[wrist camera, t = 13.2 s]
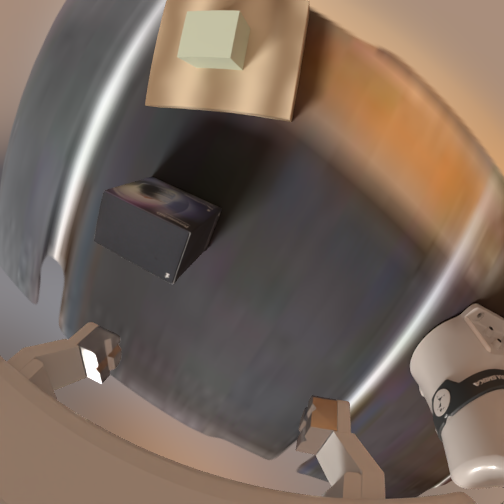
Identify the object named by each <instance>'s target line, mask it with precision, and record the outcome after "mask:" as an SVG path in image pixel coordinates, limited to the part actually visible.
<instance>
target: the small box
mask: <svg viewBox="0 0 504 504" xmlns="http://www.w3.org/2000/svg"><path fill="white" fill-rule="evenodd" d="M221 211H222V209H221V208H220V207H218V206H216V205H214V204H211V203H209V202H207V201H205V200H203V199H201V198H199V197H196V196H194V195H192V194H190V193H188V192H185V191H183V190H181V189H179V188H177V187H175V186H172V185H170V184H168V183H166V182H163V181H161V180H159V179H157V178H154V177H149V178H146V179H142V180H139V181H135V182H132V183H128V184H125V185H122V186H118V187H115V188H112V189H108V190H105V191H104V193H103V196H102V201H101V205H100V210H99V215H98V220H97V226H96V231H95V238H94V241H95V242H96V243H98V244H100V245H102V246H103V247H105V248H107V249H108V250H110V251H112V252H114V253H115V254H117V255H119V256H121V257H122V258H124V259H126V260H128V261H130V262H131V263H133V264H135V265H137V266H139V267H140V268H142V269H144V270H146V271H148V272H150V273H152V274H153V275H155V276H157V277H159V278H161V279H163V280H165V281H167V282H168V283H170V284H174V283H175V282H176V281H177V279H178V278H179V277H180V276H181V275H182V274H183V273H184V272H185V271H186V269H187V268H188V267H189V266H190V265H191V264H192V263H193V262H194V261H195V260H196V259H197V258H198V257H199V256H200V255H201V254H202V253H203V252H204V251H206V250H207V248H208V245H209V241H210V239H211V236H212V234H213V231H214V229H215V226H216V223H217V222H218V220H219V217H220V213H221Z"/></svg>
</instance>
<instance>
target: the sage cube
mask: <svg viewBox="0 0 504 504" xmlns="http://www.w3.org/2000/svg"><path fill="white" fill-rule="evenodd" d="M249 34H250V27H249V25H248V24H247V22H246V20H245V18H244V17H243V15H242V13H241V12H240V11H234V10H210V11H187V14H186V18H185V22H184V27H183V31H182V35H181V40H180V45H179V50H178V54H177V57H178V58H180V59H181V60H183V61H185V62H187V63H189V64H191V65H192V66H194V67H196V68H215V69H231V70H243V66H244V61H245V55H246V50H247V44H248V39H249Z"/></svg>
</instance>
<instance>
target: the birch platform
mask: <svg viewBox="0 0 504 504" xmlns="http://www.w3.org/2000/svg"><path fill="white" fill-rule="evenodd" d="M210 10H234V11H240V12H241V13H242V15H243V17H244V18H245V20H246V22H247V24H248V25H249V27H250V34H249V39H248V44H247V50H246V55H245V61H244V66H243V70H231V69H215V68H196V67H194V66H192V65H191V64H189V63H187V62H185V61H183V60H181V59H180V58H178V57H177V54H178V50H179V45H180V40H181V35H182V31H183V27H184V22H185V18H186V14H187V11H210ZM308 21H309V1H306V0H167V1H166V5H165V9H164V12H163V16H162V20H161V24H160V28H159V33H158V37H157V42H156V46H155V51H154V56H153V61H152V66H151V72H150V77H149V83H148V89H147V96H146V102H145V105H146V106H153V107H160V108H180V109H195V110H207V111H218V112H227V113H236V114H244V115H251V116H258V117H265V118H271V119H278V120H283V121H289V122H292V117H293V112H294V106H295V100H296V94H297V88H298V82H299V77H300V71H301V65H302V58H303V52H304V46H305V40H306V34H307V27H308Z"/></svg>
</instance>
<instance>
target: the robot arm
mask: <svg viewBox="0 0 504 504" xmlns="http://www.w3.org/2000/svg"><path fill="white" fill-rule="evenodd" d="M119 343H120V336H119V335H118V334H116V333H114V332H111V331H109V330H107V329H105V328H103V327H101V326H99V325H97V324H95V323H93V322H89V323H87V324H86V325H85V326H84V327H82V328H81V329H80V330H79V331H78V332H77V333H75V334H74V335H73V336H72V337H71V338H70V339H68V340H67V339H62V340H58V341H54V342H49V343H44V344H40V345H35V346H30V347H25V348H23V349H21V350H20V351H19V352H18V353H17V354H15V355H14V356H13V357H12V358H11V359H9V360H8V361H5V360H4V359H3V358H2V357H1V356H0V504H477V503H476V502H475V501H474V500H473V499H472V498H470V497H469V496H468V495H467V494H465V493H464V492H453V493H447V494H441V495H434V496H424V497H414V498H398V499H385V480H384V472H383V471H382V470H381V468H380V467H379V466H378V465H377V463H376V462H375V461H374V459H373V458H372V457H371V455H370V454H369V453H368V451H367V450H366V449H365V447H364V446H363V445H362V443H361V442H360V441H359V439H358V438H357V437H356V435H355V434H353V433H351V424H350V403H349V402H348V401H342V400H336V399H330V398H324V397H319V396H313V395H312V396H311V397H310V399H309V401H308V407H306V408H305V409H304V411H303V414H302V417H301V420H300V424H299V430H300V432H301V433H300V434H299V436H298V438H297V445H296V451H299V452H305V453H310V454H315V455H316V457H317V459H318V461H319V463H320V465H321V467H322V469H323V471H324V473H325V475H326V477H327V479H328V481H329V483H330V484H331V488H330V489H329V490H327V491H326V492H325V493H324V494H323V495H322V496H311V495H304V494H296V493H290V492H284V491H279V490H273V489H268V488H263V487H259V486H254V485H250V484H245V483H242V482H237V481H234V480H230V479H226V478H223V477H219V476H216V475H213V474H209V473H206V472H203V471H200V470H197V469H194V468H191V467H188V466H186V465H183V464H180V463H178V462H175V461H172V460H170V459H167V458H165V457H162V456H160V455H157V454H155V453H153V452H150V451H148V450H146V449H144V448H141V447H139V446H137V445H135V444H133V443H131V442H129V441H127V440H125V439H123V438H121V437H119V436H116V435H115V434H113V433H111V432H109V431H107V430H105V429H103V428H102V427H100V426H98V425H96V424H94V423H93V422H91V421H89V420H88V419H86V418H84V417H82V416H81V415H79V414H77V413H76V412H74V411H73V410H71V409H70V408H68V407H66V406H65V405H63V404H62V403H60V402H59V401H57V398H56V395H55V393H54V390H57V389H59V388H62V387H64V386H66V385H69V384H71V383H74V382H76V381H79V380H81V379H84V378H86V376H87V377H89V378H91V379H93V380H95V381H97V382H99V383H101V384H102V383H103V382H104V381H105V380H106V379H107V377H108V376H109V375H110V370H112V369H115V368H116V367H117V366H118V365H119V363H120V360H121V356H122V351H121V348H120V347H119V345H118V344H119ZM410 370H411V374H412V376H413V377H414V379H415V380H416V382H417V383H418V385H419V390H420V393H421V395H422V396H424V397H425V398H426V401H427V403H428V405H429V407H430V409H431V412H432V414H433V420H434V424H435V427H436V433H437V434H438V437H439V439H440V440H441V441H443V445H444V449H445V453H446V457H447V461H448V466H449V470H450V475H451V478H452V480H453V481H454V483H455V484H457V485H458V486H460V487H462V488H466V489H483V488H490V487H502V488H504V318H502V317H501V316H499V315H497V314H495V313H493V312H492V311H490V310H488V309H486V308H484V307H483V306H481V305H479V304H472V305H471V306H469V307H468V308H467V309H466V310H465V311H463V312H462V313H461V314H460V315H459V316H457V317H455V318H453V319H450V320H448V321H446V322H444V323H442V324H440V325H439V326H437V327H436V328H435V329H433V330H432V331H431V332H430V333H429V334H427V335H426V336H425V337H424V339H423V340H422V341H421V342H420V343H419V345H418V346H417V348H416V349H415V351H414V353H413V356H412V358H411V363H410ZM501 504H503V503H501Z"/></svg>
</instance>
